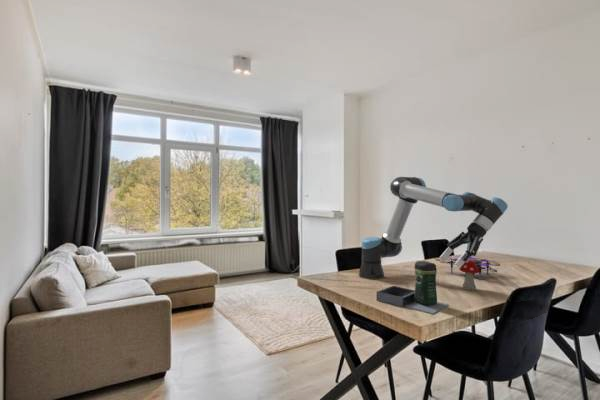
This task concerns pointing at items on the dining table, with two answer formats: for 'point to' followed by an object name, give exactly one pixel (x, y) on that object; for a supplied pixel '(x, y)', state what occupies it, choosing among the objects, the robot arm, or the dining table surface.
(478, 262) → the drone
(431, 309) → the rubber pad
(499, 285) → the dining table surface
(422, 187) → the robot arm
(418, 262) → the coffee jar
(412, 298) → the locating collar
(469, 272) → the decorative mushroom
